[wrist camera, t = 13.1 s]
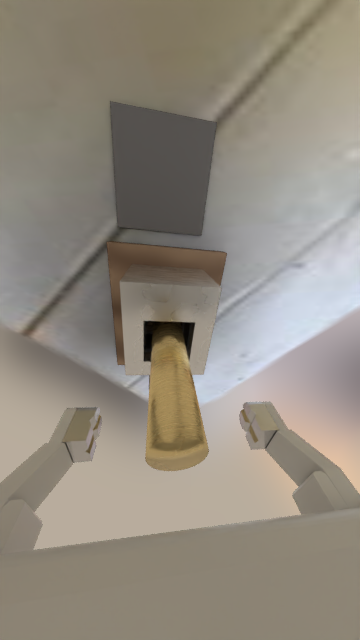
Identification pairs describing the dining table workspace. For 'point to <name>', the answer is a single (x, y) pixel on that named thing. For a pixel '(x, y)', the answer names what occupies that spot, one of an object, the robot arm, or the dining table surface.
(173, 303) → the block
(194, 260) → the walnut base
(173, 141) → the rubber mat
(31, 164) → the dining table surface
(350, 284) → the dining table surface
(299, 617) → the robot arm
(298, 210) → the dining table surface
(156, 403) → the brass pin
